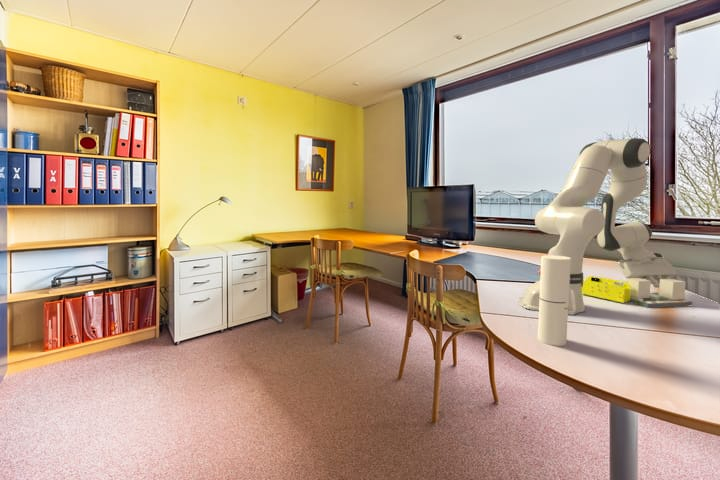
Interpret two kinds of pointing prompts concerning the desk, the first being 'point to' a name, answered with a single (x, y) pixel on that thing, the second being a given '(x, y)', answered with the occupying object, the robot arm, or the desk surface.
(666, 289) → the button
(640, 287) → the button
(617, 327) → the desk surface
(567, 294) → the cylindrical container
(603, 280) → the yellow toy chassis
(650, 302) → the button board
